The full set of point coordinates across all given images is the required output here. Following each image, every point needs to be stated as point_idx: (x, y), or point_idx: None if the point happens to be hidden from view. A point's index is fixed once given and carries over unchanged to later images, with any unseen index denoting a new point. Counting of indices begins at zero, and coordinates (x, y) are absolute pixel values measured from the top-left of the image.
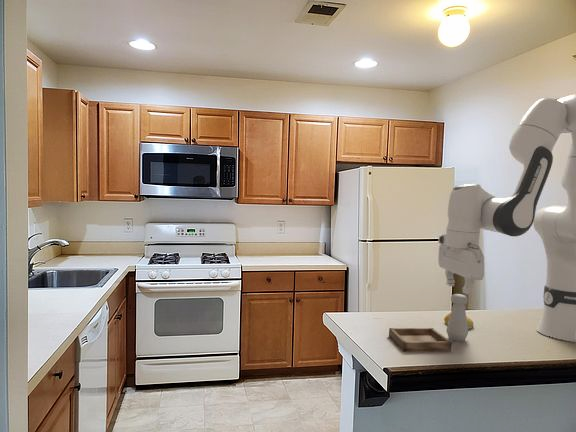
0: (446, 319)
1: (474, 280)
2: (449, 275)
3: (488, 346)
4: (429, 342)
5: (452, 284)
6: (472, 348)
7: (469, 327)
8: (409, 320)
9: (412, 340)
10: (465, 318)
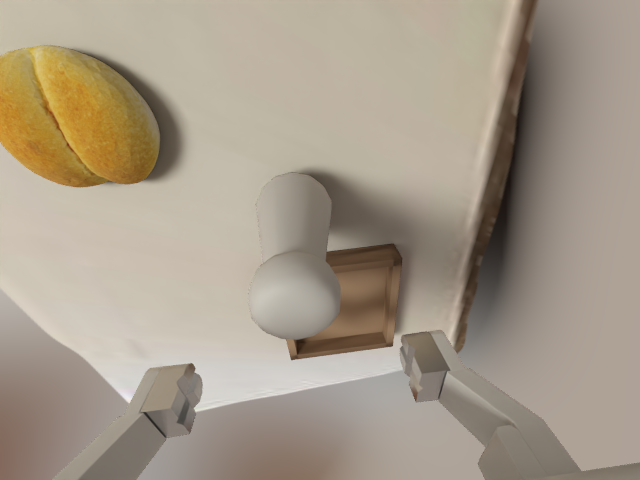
0: (91, 184)
1: (558, 442)
2: (121, 475)
3: (359, 106)
4: (396, 305)
5: (191, 381)
6: (376, 176)
7: (139, 95)
8: (117, 285)
9: (338, 315)
10: (314, 215)
